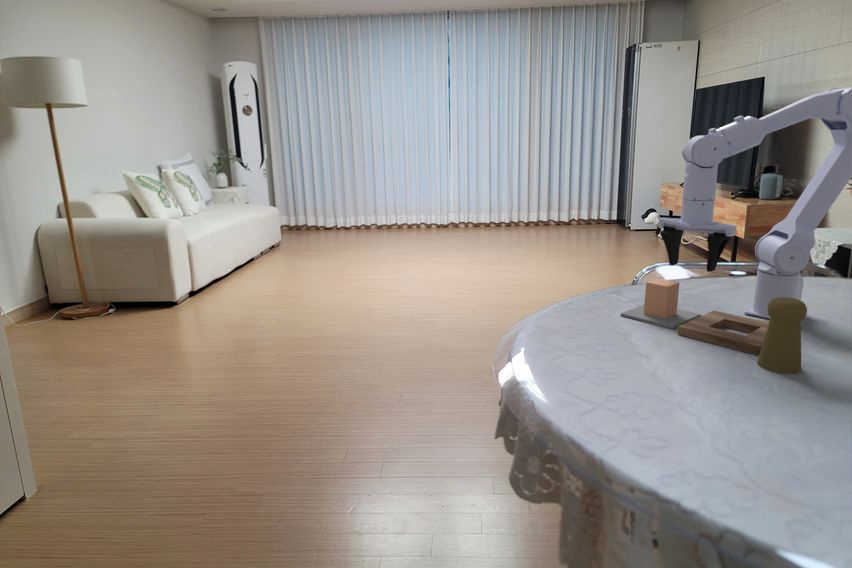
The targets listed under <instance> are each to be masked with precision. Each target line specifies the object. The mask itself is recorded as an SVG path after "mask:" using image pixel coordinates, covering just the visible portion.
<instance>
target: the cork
mask: <svg viewBox="0 0 852 568" xmlns="http://www.w3.org/2000/svg"><path fill="white" fill-rule="evenodd" d="M807 307H808V306H807V305H806V303H805V302H803V301H802V300H801V301H800V300H798V299H794V298H787V297H779V298H774V299H772V300H771V301H770V303H769V304H768V308H767V311H768V315H769V316H770V319H769V321H768V322H769V324H768V328H767V331H766V334H765V338H764V341H763V344H762V348H761V351H760V354H759V355H758V357H757V358H758V359H757V362H756V364H757V365H758V366H759V367H760V368H762V369H764V370H766V371H770V372H773V373H778V374H789V375H790V374H792V375H793V374H798V373H800V372H802V322H803V321H804V320H805V318H806V316H807V314H808V308H807Z"/></svg>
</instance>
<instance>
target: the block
mask: <svg viewBox="0 0 852 568" xmlns="http://www.w3.org/2000/svg"><path fill="white" fill-rule="evenodd" d="M679 292H680V282H678V281H673V280H668V279H665V278H664V279H663V278H660V277H659V278H655V279H652V280H649V281H646V283H645V292H644V293H645V294H644V303H643V305H644V314H647V315H651V316H655V317H659V318H663V319H666V318H668V317H670V316H673V315H675V314H677V309H678V303H679Z"/></svg>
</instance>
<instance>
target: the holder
mask: <svg viewBox="0 0 852 568" xmlns="http://www.w3.org/2000/svg"><path fill="white" fill-rule="evenodd" d="M768 324H769V321H764V320H761V319H755V318H751V317H746V316H742V315H736V314H731V313H728V312H724V311H723V312H722V311H719V310H712V311H709V312H707V313H705V314H703V315H702V314H701V316H700V317H698V318H696V319H693V320H691V321H689V322H687V323H684V324H682V325H680V326H678V327H677V335H680V336H683V337H684V336H685V337H688V338H691V339H696V340H698V341H699V340H700V341H703V342H707V343H712V344H716V345H719V346H724V347H726V348H731V349H734V350H737V351H738V350H739V351H742V352H746V353H749V354H753V355H758V356H759V355H760V351H761V348H762V344H763V341H764V338H765V334H766V331H767V328H768ZM723 327H725V328H729V329H734V330H737V331H742V332H746V333H748V334H743V333H742V334H741V333H737V332H733V331H728V330H724V329H721V328H723Z"/></svg>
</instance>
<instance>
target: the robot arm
mask: <svg viewBox="0 0 852 568" xmlns="http://www.w3.org/2000/svg"><path fill="white" fill-rule="evenodd" d="M809 119H812V120H813V119H820V121H821V122H822V123H823V125H824V126H825V127H826V128H827V129H828V131H829V132H830V133H831V136H832V140H833V143H834V145H833V147H832V148H831V150H830V151H829V153H828V154H827V155H826V158H825V159H824V160H823V161H822V163H821V165H820V166H819V168H818V169H817V170H816V172H815V174H814V175H813V177H812V178H811V180H810V181H809V183H808V184H807V186H806V187H805V189H804V190H803V192H802V193H801V195H800V196H799V198H798V199H797V200H796V202H795V203H794V205H793V206H792V208H791V210H790V211H789V213H788V214H787V216H786V217H785V218H784V219H783V220H781V221H780V222H778V223H776V224H775V225H773V227H771V230H770V231H768V233H766V234H765V235H763V236H762V237H760V238H759V240H757V242H756V244H755V247H754V254H755V256H756V258H757V260H759V264H758V266H757V272H756V273H757V274H756V281H755V287H754V288H755V289H754V295H753V304H752V305H753V306H752V307H750V308H747V309H746V310H744V311H743V312H744V314H746V315H750V316H755V317H760V318H764V319H768V320H770V316H769V315H768V311H767V308H768V304H769V303H770V301H771V300H772V299H774V298H779V297H787V298H794V299H798V300H800V301H802V297H803V296H802V295H803V290H804V278H803V276H802V274H801V271H802V270H804V269H805V268H806V266H807V265H808V263H809V260H810V255H811V251H812V250H813V248H814V246H815V245H816V237H815V231H816V229H817V228H818V226H819V225H820V223H821V222H822V220H823V219H824V217H825V216H826V214H827V213H828V212H829V211H830V209H831V208H832V206H833V205H834V203H835V201H837V199H838V197H839V196H840V194H841V193H842V192H843V190H844V188H845V187H846V185H848V183H849V181H850V180H851V179H852V86H851V87H850V86H848V87H847V86H846V87H834V88H830V89H827V90H826V91H821V92H817V93H813V94H812V95H808V96H805V97H804V98H802V99H798V100H797V101H795V102H792V103H791V104H788V105H786V106H784V107H781V108H780V109H779V108H778V110H775V111H773V112H770V113H769V114H766V115H764V116H762V117H759V118H756V117H754V116H752V115H751V116H750V115H747V116H745V117H744V115H739V116H738V115H737V116H736V117H734V118H733V122H731V123H728V124H726V125H723V126H721V127H718V128H715V127H713V128H712V127H711V128H709V129H708V131H707V132H708V133H707V134H706V135H695V136H694V137H691V138H690V139H689V140H688V142H686V144H685V146H684V149H683V150H682V153H681V154H682V157H683V160H684V161H685V162H686V164H685V173H684V176H683V177H684V179H683V190H682V199H681V201H682V202H681V210H680V211H681V212H680V218H673V217H672V218H671V217H660V218H658V229H662V230H661V231H660V233H659V235H660V237H661V239H662V242H663V243H664V245H665V250H666V252H667V256H668V264H669V266H675V265H678V263H679V259H680V257H679V256H680V246H681V242H682V239H683V235H684V231H687V232H694V233H695V232H697V233H704V234H712V235H708V236H707V237H706V241H707V253H708V254H707V262H706V272H709V273H712V272H714V271H716V268H717V265H718V263H719V259H720V257H721V255H722V253H723V252H724V250H725V249H726V247H727V245H728V244H729V242H730V241H731V240H732V237H735V236H736V234H737V225H736V224H729V223H722V222H718V221H714V220H713V218H714V211H715V203H716V202H715V201H716V190H717V183H718V182H717V181H718V172H719V171H718V170H719V169H718V168H719V164H720V163H721V162H722V161H723V160H724V159H726V158H729V157H731V156H735V155H737V154H739V153H742V152H745V151H746V150H749V149H752V148H754V147H757V146H759V145H761V143H762V141H763V140H764V138H765V137H766V135H769V134H771V133H774V132H777V131H779V130H781V129H784V128H787V127H790V126H792V125H795V124H798V123H801V122H804V121H807V120H809Z"/></svg>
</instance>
